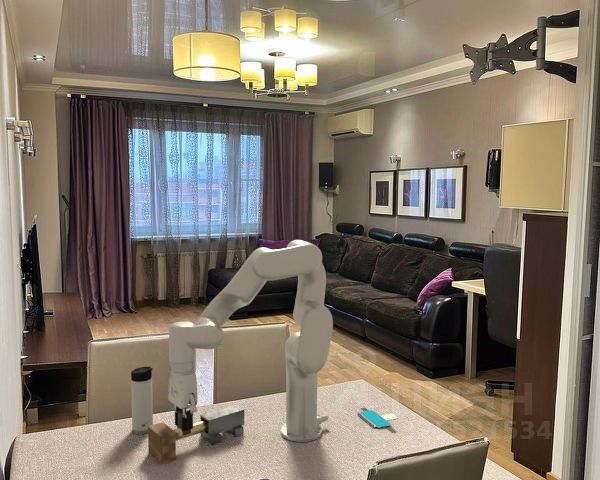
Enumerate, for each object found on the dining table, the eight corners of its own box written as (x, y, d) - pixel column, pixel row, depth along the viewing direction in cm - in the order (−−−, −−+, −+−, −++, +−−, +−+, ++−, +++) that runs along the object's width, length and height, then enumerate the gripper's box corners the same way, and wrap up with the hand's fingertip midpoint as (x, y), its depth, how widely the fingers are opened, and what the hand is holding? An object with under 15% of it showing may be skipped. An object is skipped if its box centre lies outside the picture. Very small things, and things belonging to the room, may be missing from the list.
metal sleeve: (233, 426, 170) (233, 403, 170) (246, 433, 165) (246, 410, 164) (199, 437, 162) (198, 413, 162) (210, 446, 157) (210, 421, 156)
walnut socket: (163, 448, 155) (162, 422, 154) (175, 459, 149) (175, 431, 148) (148, 453, 152) (147, 426, 152) (160, 464, 146) (160, 436, 146)
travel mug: (148, 435, 163) (146, 372, 161) (128, 433, 165) (126, 370, 163) (157, 426, 169) (156, 365, 167) (138, 424, 171) (137, 363, 169)
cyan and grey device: (412, 430, 169) (412, 425, 169) (379, 437, 164) (380, 432, 164) (379, 406, 187) (379, 402, 187) (349, 412, 183) (349, 407, 183)
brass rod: (218, 423, 164) (218, 399, 164) (225, 427, 162) (224, 403, 161) (164, 440, 153) (164, 415, 152) (170, 445, 150) (169, 419, 149)
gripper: (158, 360, 157) (159, 420, 159) (184, 376, 144) (185, 441, 146) (181, 355, 162) (182, 414, 163) (209, 370, 149) (209, 433, 151)
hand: (183, 426), depth 155 cm, fingers closed on brass rod, 3 cm apart
